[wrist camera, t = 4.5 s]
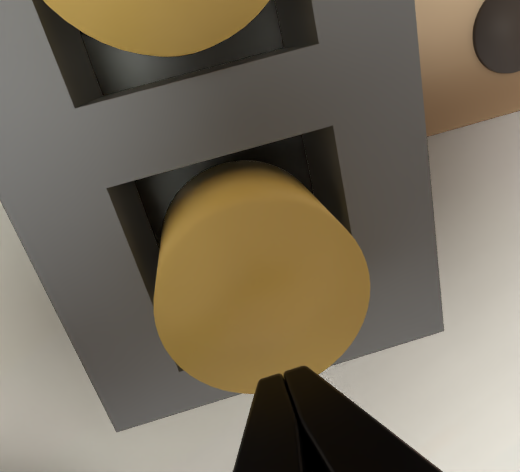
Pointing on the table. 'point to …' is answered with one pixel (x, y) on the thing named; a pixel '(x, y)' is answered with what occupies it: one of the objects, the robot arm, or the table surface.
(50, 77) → the board
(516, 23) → the card
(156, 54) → the button
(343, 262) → the button
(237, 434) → the table surface
